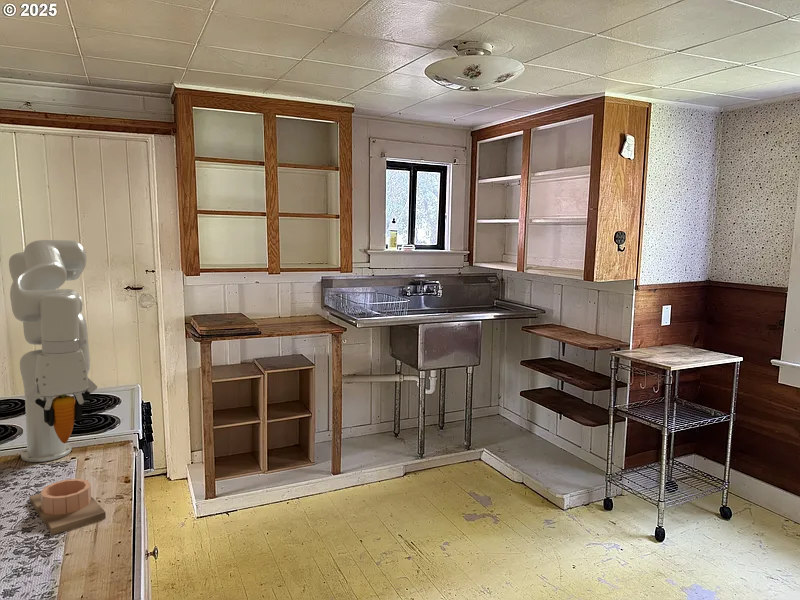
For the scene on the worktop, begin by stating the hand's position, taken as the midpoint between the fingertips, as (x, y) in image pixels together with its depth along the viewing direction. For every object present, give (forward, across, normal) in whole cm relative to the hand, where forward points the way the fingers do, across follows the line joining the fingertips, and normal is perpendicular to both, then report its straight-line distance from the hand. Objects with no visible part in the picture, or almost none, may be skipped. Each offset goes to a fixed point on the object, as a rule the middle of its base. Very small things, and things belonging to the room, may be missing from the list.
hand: (63, 421), depth 131 cm
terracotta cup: (+21, 0, 0) cm, 21 cm away
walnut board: (+22, 0, 0) cm, 22 cm away
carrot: (+6, 0, 0) cm, 6 cm away
